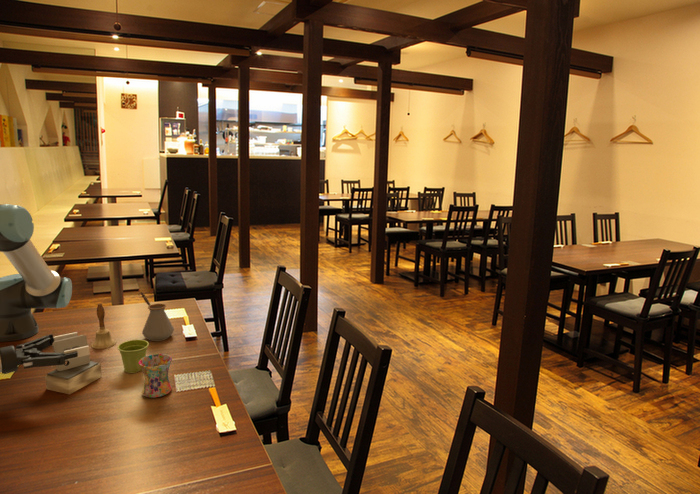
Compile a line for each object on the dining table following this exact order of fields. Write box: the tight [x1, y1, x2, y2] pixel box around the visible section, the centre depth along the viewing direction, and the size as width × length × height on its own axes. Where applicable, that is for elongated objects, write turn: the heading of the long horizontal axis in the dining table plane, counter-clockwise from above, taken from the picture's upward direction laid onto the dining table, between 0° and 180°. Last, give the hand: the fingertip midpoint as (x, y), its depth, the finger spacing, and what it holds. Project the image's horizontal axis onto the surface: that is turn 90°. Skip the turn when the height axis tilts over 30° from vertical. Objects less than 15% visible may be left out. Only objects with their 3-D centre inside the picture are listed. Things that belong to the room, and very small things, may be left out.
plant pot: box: [117, 339, 150, 374], centre depth 156 cm, size 9×9×9 cm
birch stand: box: [44, 360, 103, 395], centre depth 146 cm, size 12×9×5 cm
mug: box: [139, 353, 173, 398], centre depth 142 cm, size 12×9×11 cm
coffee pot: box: [138, 292, 175, 342], centre depth 185 cm, size 21×12×15 cm, turn 45°
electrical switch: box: [51, 334, 91, 371], centre depth 147 cm, size 9×5×9 cm, turn 136°
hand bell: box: [91, 303, 117, 350], centre depth 173 cm, size 8×8×16 cm
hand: (83, 342), depth 146 cm, fingers open, 13 cm apart
